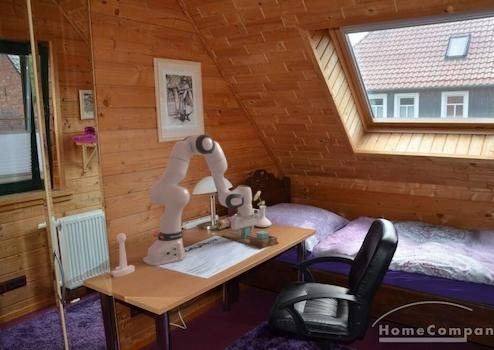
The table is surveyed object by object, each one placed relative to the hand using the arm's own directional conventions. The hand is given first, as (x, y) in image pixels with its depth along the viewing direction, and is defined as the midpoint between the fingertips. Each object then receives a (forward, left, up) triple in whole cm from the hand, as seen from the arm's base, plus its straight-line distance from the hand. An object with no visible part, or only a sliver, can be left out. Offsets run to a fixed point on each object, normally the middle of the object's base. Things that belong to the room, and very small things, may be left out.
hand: (245, 234), depth 253 cm
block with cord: (0, -8, -2) cm, 8 cm away
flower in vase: (+27, +14, -3) cm, 31 cm away
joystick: (-79, +1, -3) cm, 79 cm away
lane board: (0, -3, -3) cm, 4 cm away
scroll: (+11, +29, -4) cm, 31 cm away
